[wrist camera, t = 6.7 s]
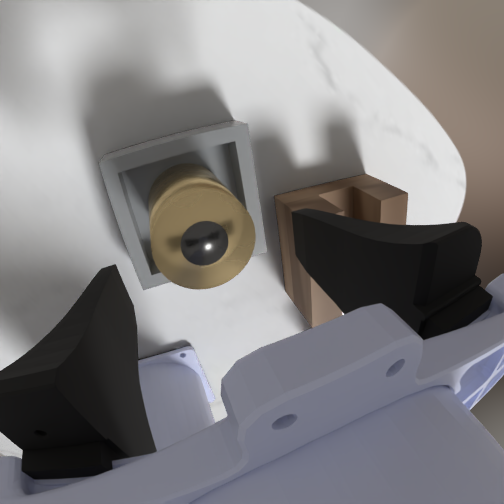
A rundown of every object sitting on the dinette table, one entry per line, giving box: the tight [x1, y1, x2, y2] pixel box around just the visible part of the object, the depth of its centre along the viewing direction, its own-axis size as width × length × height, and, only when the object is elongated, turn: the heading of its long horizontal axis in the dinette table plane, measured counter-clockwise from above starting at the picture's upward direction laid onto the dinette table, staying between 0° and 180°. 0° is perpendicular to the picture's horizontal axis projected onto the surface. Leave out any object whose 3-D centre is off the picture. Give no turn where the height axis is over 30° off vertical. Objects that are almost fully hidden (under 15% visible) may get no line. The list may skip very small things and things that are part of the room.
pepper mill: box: [148, 163, 256, 289], centre depth 15 cm, size 4×4×6 cm
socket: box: [99, 120, 267, 290], centre depth 18 cm, size 8×8×2 cm
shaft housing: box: [274, 174, 408, 328], centre depth 21 cm, size 8×8×5 cm
